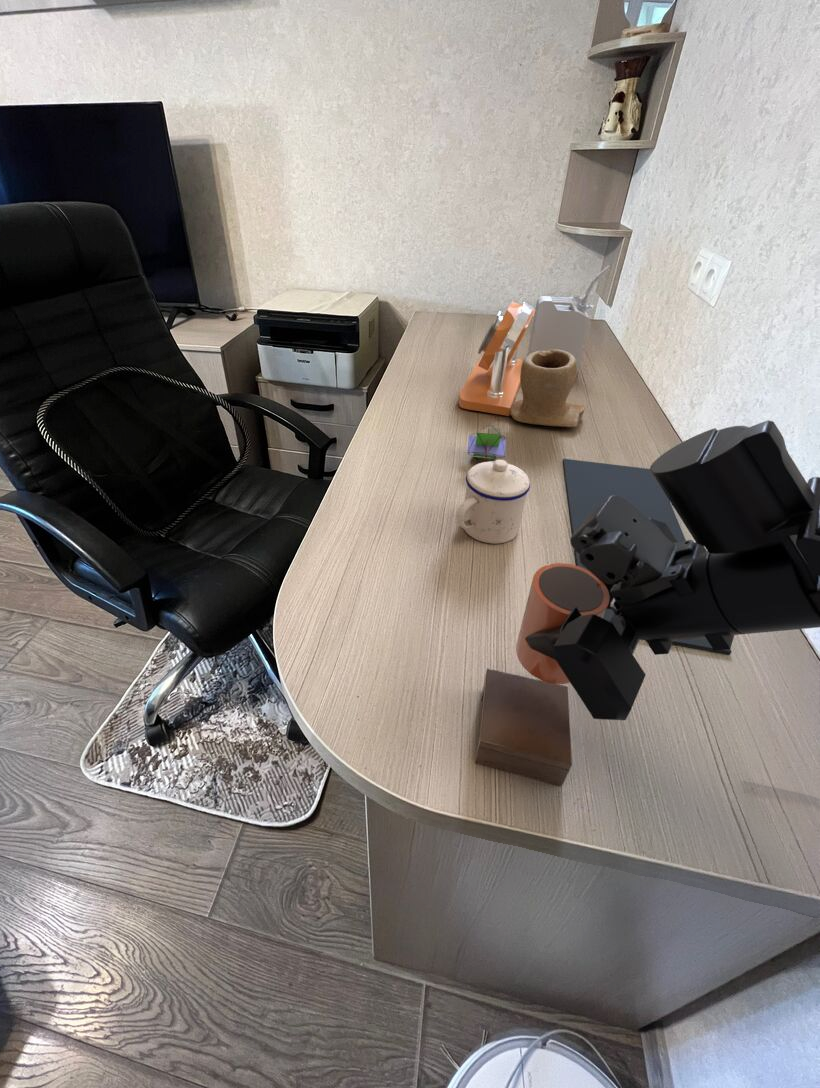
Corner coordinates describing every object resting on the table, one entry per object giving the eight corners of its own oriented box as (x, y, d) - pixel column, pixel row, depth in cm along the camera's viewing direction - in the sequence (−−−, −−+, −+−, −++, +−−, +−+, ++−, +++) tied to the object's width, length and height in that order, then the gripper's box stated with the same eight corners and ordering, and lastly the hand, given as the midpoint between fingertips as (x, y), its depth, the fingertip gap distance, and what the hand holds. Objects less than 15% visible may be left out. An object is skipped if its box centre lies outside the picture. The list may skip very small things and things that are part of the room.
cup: (596, 656, 47) (623, 588, 42) (563, 697, 44) (587, 628, 39) (537, 619, 51) (556, 552, 46) (503, 654, 48) (518, 586, 42)
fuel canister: (584, 366, 132) (610, 264, 118) (588, 373, 128) (615, 268, 114) (525, 362, 134) (543, 262, 120) (526, 369, 130) (546, 266, 116)
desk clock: (528, 369, 130) (543, 288, 119) (511, 418, 107) (528, 323, 96) (481, 363, 134) (491, 284, 122) (454, 409, 111) (464, 317, 99)
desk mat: (729, 655, 58) (732, 651, 58) (584, 628, 61) (585, 625, 61) (655, 472, 90) (656, 469, 89) (562, 461, 93) (563, 458, 93)
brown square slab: (562, 786, 46) (572, 764, 44) (474, 763, 48) (480, 741, 46) (559, 708, 52) (567, 686, 50) (482, 690, 54) (487, 667, 52)
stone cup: (506, 429, 103) (518, 359, 95) (511, 405, 112) (522, 339, 104) (584, 440, 99) (604, 368, 91) (582, 415, 108) (600, 347, 100)
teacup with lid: (488, 502, 82) (498, 440, 76) (532, 530, 76) (547, 466, 70) (433, 529, 77) (439, 464, 70) (476, 562, 71) (487, 495, 64)
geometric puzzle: (505, 467, 87) (511, 422, 87) (465, 463, 88) (471, 418, 88) (501, 471, 94) (506, 429, 94) (464, 467, 95) (469, 425, 95)
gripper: (698, 438, 39) (539, 499, 52) (623, 566, 28) (440, 606, 40) (772, 555, 40) (597, 589, 52) (730, 731, 28) (516, 721, 40)
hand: (543, 619), depth 46 cm, fingers closed on cup, 6 cm apart
